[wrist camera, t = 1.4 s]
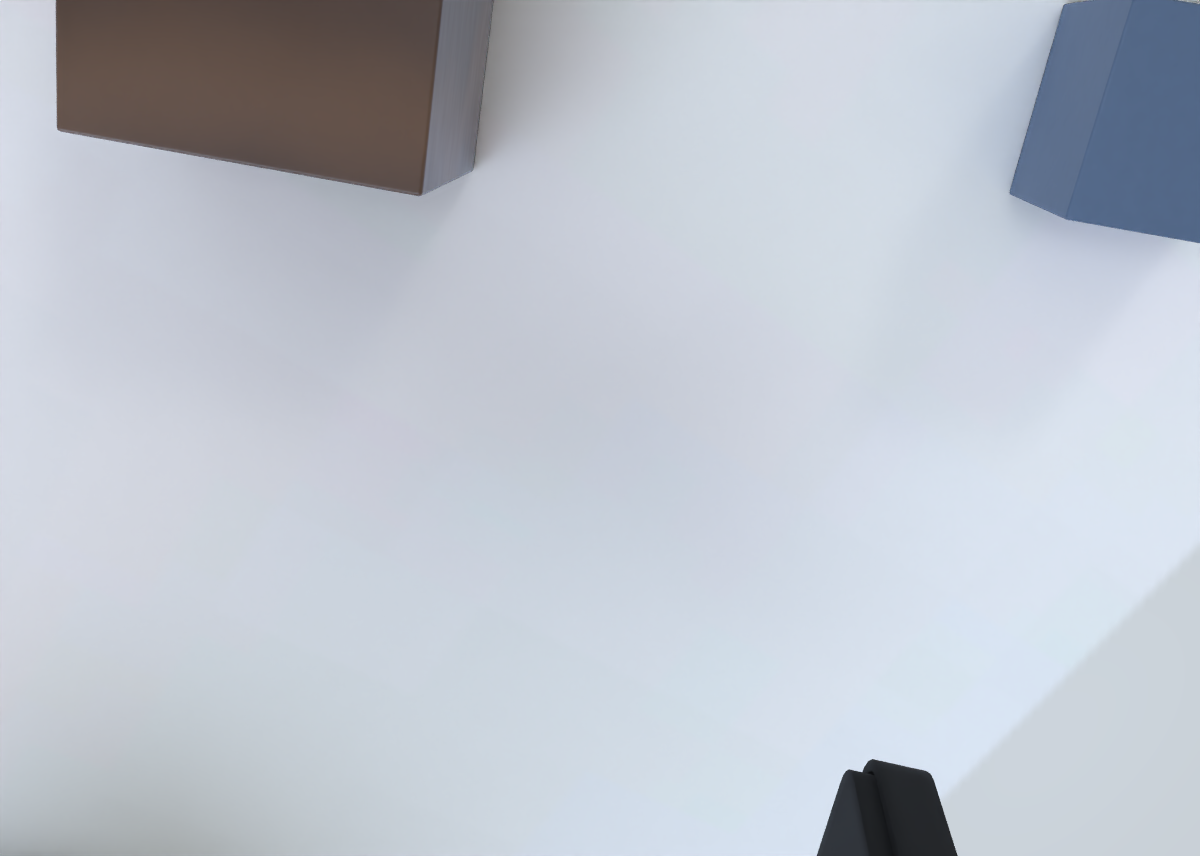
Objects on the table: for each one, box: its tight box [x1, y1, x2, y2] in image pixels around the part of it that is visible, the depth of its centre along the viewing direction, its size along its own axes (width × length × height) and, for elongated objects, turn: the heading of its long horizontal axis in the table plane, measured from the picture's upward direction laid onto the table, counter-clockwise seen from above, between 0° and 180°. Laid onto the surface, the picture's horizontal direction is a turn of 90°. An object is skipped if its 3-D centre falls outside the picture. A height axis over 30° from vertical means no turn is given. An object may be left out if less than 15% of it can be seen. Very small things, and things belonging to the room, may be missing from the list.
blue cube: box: [1010, 0, 1200, 243], centre depth 27 cm, size 5×5×5 cm
